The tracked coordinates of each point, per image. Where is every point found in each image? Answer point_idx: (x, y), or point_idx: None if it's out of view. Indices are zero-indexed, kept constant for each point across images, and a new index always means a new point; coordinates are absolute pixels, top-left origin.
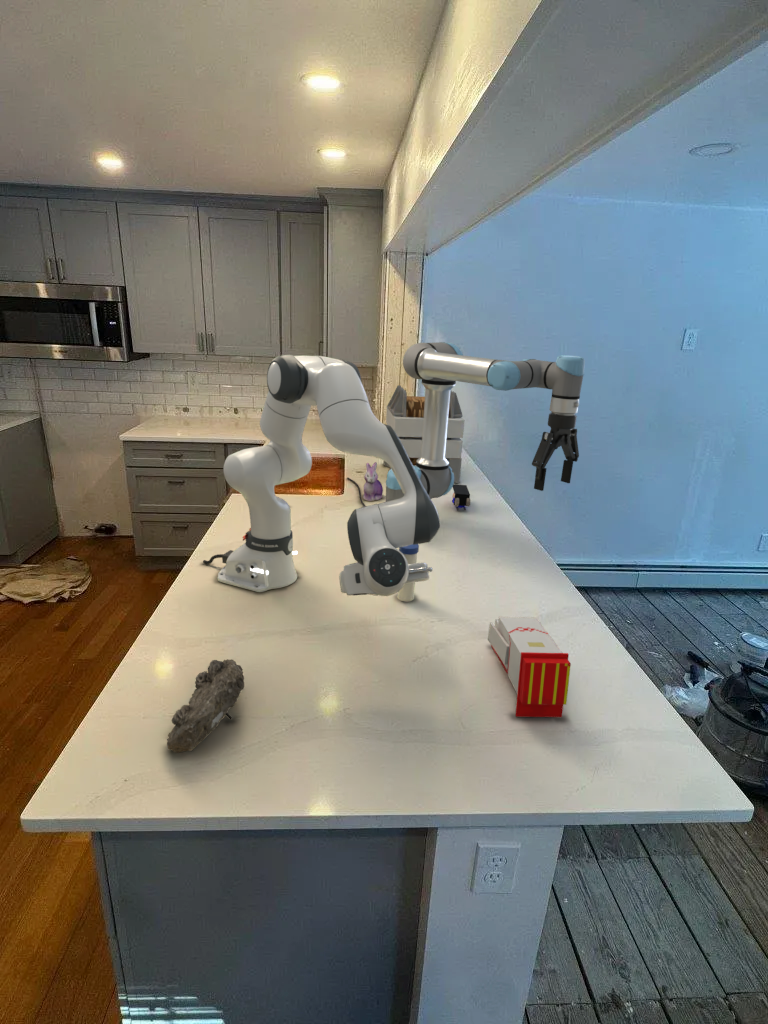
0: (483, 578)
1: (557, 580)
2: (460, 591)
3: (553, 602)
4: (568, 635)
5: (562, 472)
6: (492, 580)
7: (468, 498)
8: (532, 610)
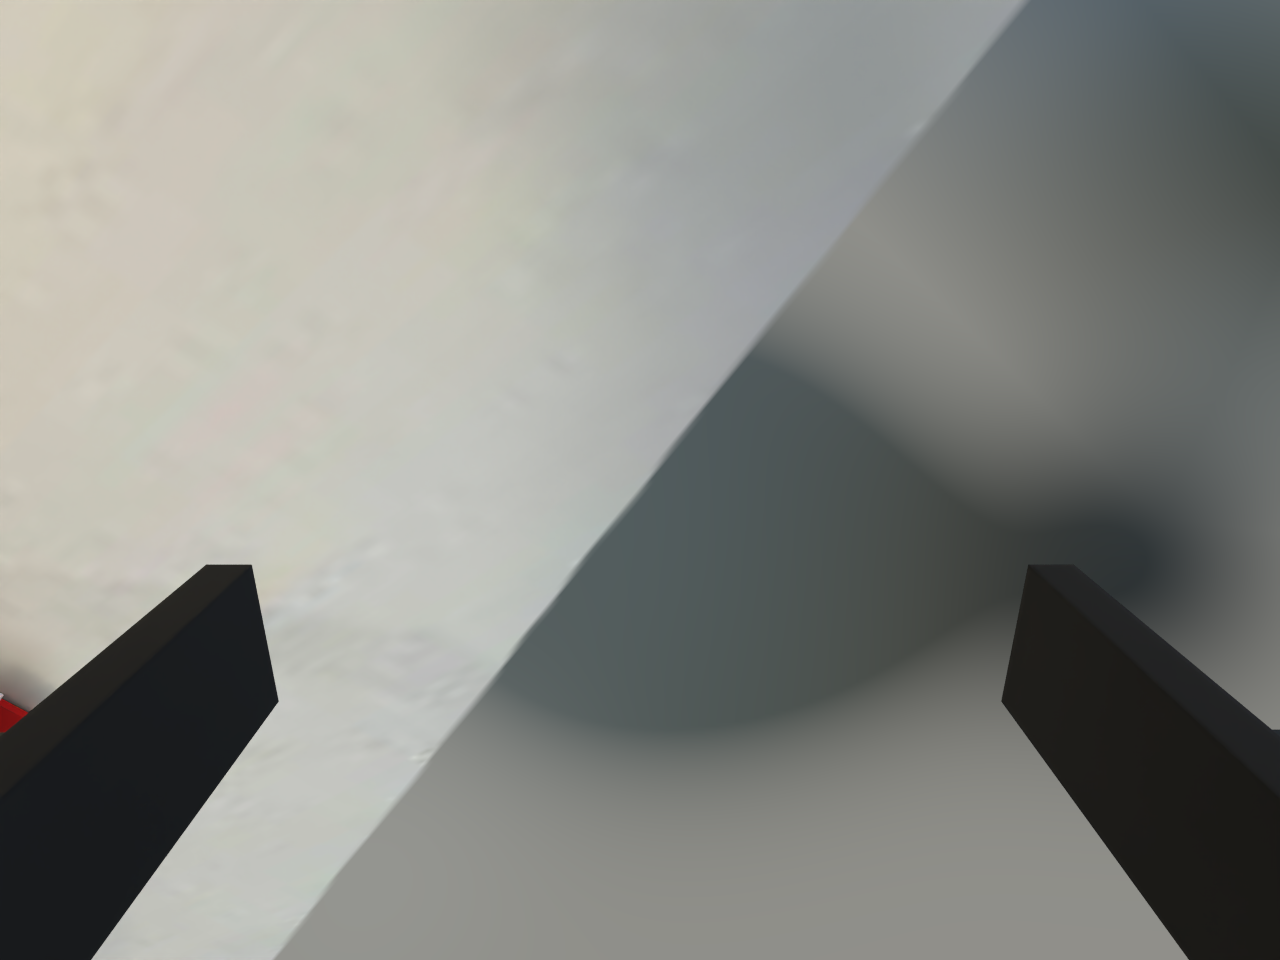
0: (280, 190)
1: (638, 464)
2: (45, 223)
3: (416, 581)
4: (252, 751)
5: (1125, 670)
6: (312, 243)
7: None
8: (267, 568)
